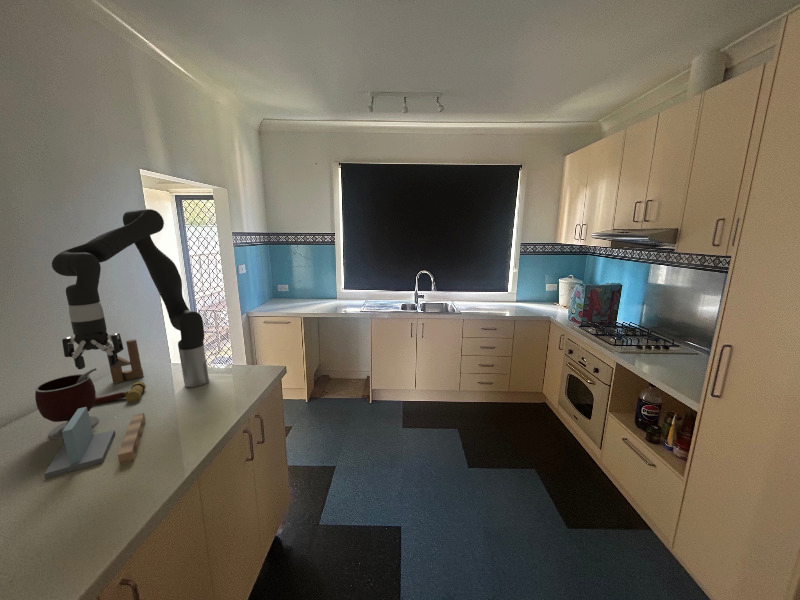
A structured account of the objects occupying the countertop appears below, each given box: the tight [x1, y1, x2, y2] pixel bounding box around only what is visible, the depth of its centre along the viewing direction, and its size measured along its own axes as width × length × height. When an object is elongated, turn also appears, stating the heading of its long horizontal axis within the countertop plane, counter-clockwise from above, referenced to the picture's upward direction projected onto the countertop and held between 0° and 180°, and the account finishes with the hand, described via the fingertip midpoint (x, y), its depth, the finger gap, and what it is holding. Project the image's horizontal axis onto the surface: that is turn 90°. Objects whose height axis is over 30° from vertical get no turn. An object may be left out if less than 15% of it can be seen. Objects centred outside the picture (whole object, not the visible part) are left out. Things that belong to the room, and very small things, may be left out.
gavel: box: [93, 381, 147, 406], centre depth 128 cm, size 21×5×10 cm
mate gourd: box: [34, 367, 100, 440], centre depth 109 cm, size 16×14×20 cm
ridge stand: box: [43, 407, 116, 479], centre depth 97 cm, size 12×16×12 cm
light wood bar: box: [117, 412, 146, 466], centre depth 104 cm, size 24×3×4 cm, turn 31°
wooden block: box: [106, 338, 144, 384], centre depth 146 cm, size 4×11×18 cm, turn 128°
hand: (97, 366), depth 102 cm, fingers open, 8 cm apart
